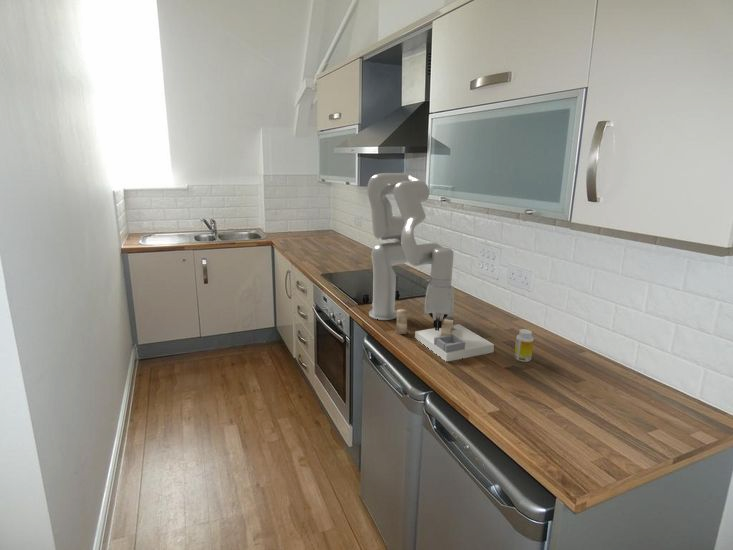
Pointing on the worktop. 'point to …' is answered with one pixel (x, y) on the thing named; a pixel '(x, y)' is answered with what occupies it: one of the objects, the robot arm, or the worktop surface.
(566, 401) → the worktop surface
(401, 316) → the loose leg
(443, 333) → the beige angular block
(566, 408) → the worktop surface
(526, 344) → the supplement bottle
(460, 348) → the white board with frame
